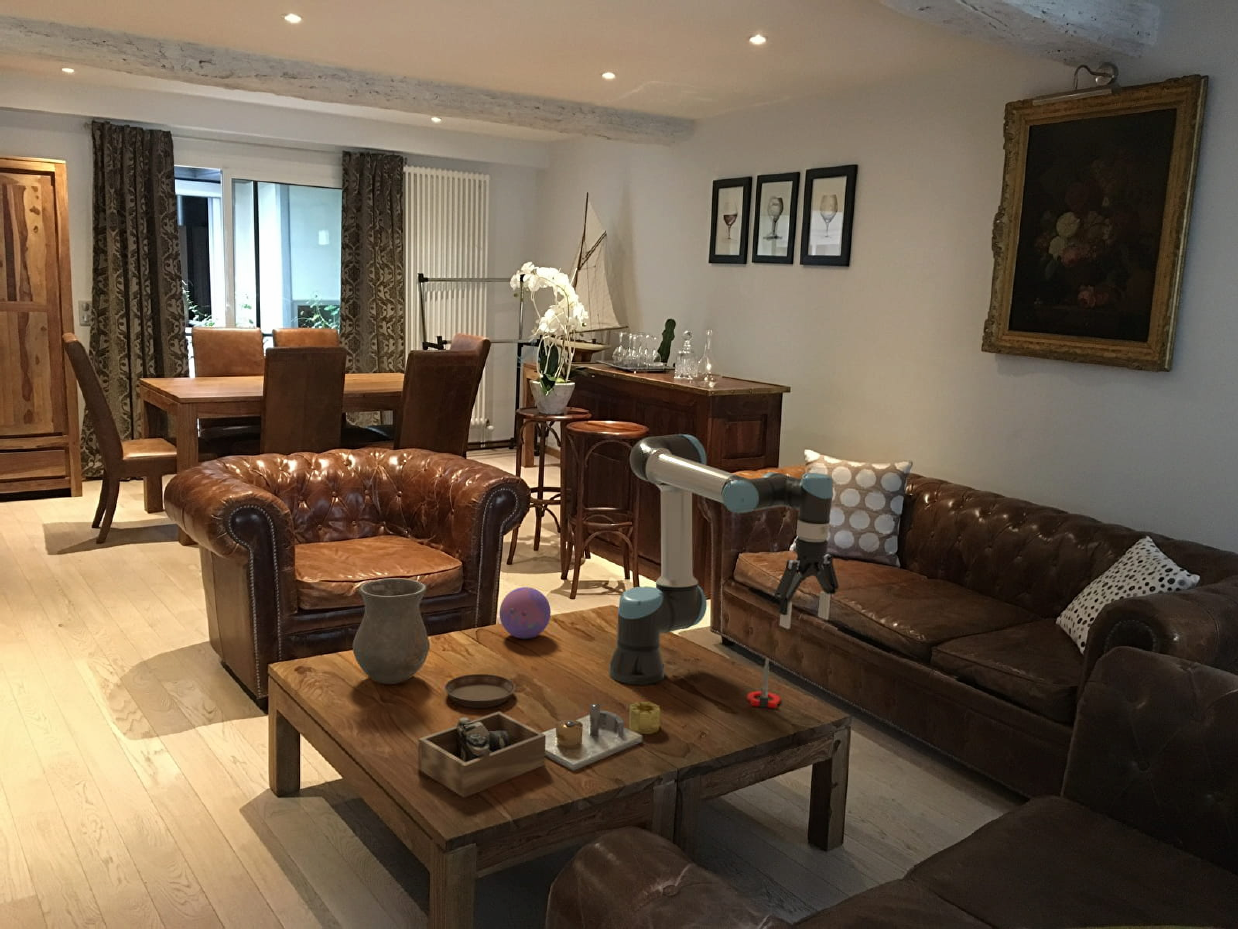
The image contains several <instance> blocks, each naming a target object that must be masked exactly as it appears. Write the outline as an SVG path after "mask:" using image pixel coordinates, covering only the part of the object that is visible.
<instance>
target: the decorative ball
mask: <svg viewBox="0 0 1238 929" xmlns="http://www.w3.org/2000/svg"><path fill="white" fill-rule="evenodd" d="M551 612H552V611H551V605H550V602H549V601H548V599H547V597H546V595H544V594H543V593H542V592H541V591H539V590H538V589H535V588H533V587H527V586H524V587H517V588H515V589H513V590H511V591H510V592H509V593H508V594H506V596H505V597H504V598H503V599H502V602H501V603H500V608H499V620H500V623H501V625H502V627H503V628H504V629H505V631H506V632H507V633H508V634H510V635H511V636H513V637H514V638H518V639H522V640H523V639H532V638H535V637H537V636H538V635H540V634H541V633H543V631H545V629H546V628H547V627H548V625H549V623H550V620H551V615H552V613H551Z"/></svg>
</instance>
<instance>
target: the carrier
mask: <svg viewBox="0 0 1238 929" xmlns="http://www.w3.org/2000/svg"><path fill="white" fill-rule="evenodd" d="M589 709H590V711H589V714H588V715H586V716H583V717H580V718H578V719H561V720H558V721H557V722H556V723H555V727H554V728H551V729H549V730H546V731H543V732H542V733H543V734H544V735H546V743H545V758H549V759H550V760H552V761H554V762H556V763H558V764H560V765H562V766H563V767H565V768H567V769H569V770H571V771H576V770H579V769H581V768H583V767H585V766H588V765H590V764H593V763H595V762H598V761H600V760H602V759H605V758H607V757H609V756H611V755H614V754H616V753H617V754H618V753H619V752H621V751H624V750H626V749H628V748H631V747H633V746H635V745H637V744H640V743H642V742H643V734H638V733H636V732H634V731H632V730H629V728H627V727H625V722H624V720H623V719H622V717H621V716H620V715H618V714H616V713H614V712H611V711H608V710H603V709H601V705H600V704H599V703H591V704H590V708H589Z"/></svg>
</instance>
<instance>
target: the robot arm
mask: <svg viewBox="0 0 1238 929" xmlns="http://www.w3.org/2000/svg"><path fill="white" fill-rule="evenodd" d="M702 444H703V443H701V442H700V441H699V439H697V437H695V436H693V435H690V434H681V433H679V434H667V435H661V436H659V435H658V436H649V437H644V438H642V439H641V440H639V441H638V442H637V443H636V444H635V445H634V446H633V447H632V448H631V451H630V455H629V464H630V468H631V470H632V472H633V473H634V474H635V476H636V477H638V478H639V479H641V480H643V481H646V482H649V483H651V484H654V485H655V487H658V489H659V491H660V535H661V536H660V547H661V548H660V549H661V550H660V552H661V554H660V558H661V559H660V560H661V561H660V564H661V565H660V566H661V568H660V570H661V571H660V572H661V575H660V576H659V577H658V578H657V580H655V587H654V586H653V587H652V586H647V585H646V586H643V587H642V586H637V587H632V588H629V589H627V590H625V591H623V593H621V595H620V597H619V604H618V608H617V614H618V616H617V633H616V634H617V636H616V638H617V639H616V647H615V649H614V652H613V655H612V658H611V660H610V662H609V666H608V674H609V676H610V678H612V679H613V680H615V681H617V682H620V683H623V684H629V685H636V686H638V685H640V686H641V685H642V686H643V685H652V684H657V683H659V682H661V681H662V680H664V678H665V671H666V670H665V668H666V667H665V664H664V663H663V658H662V653H661V650H660V649H661V648H660V643H661V635H662V634H667V633H670V632H671V633H672V632H675V631H679V630H685V629H689V628H692V627H693V626H696V625H698V624H699V623H700V622H701V621H702V620H703V619H704V617H705V615H706V612H707V606H708V605H707V597H706V594H704V591H703V590H704V589H702V588H701V586H699V585H698V584H699V581H698V580H697V578H695V576H694V575H693V494H694V495H698V496H701V497H704V498H707V499H710V500H712V501H716V502H719V503H722V504H723V505H724V506H725V508H726V509H727V510H728V511H730V512H732V513H733V514H734V513H735V514H736V513H737V514H739V513H741V514H743V513H744V514H745V513H749V512H753V511H761V510H766V509H772V508H773V509H774V508H778V507H779V508H780V507H785V508H789V509H794V510H797V511H798V515H797V525H796V533H795V534H796V538H795V549H794V552H795V553H796V554H797V556H796V560H793V559H787V560H786V564H785V569H784V572H783V574H782V576H781V579H780V581H779V584H778V586H777V588H776V590H775V592H774V595H773V598H774V599H776V600H778V601H780V602H779V615H780V618H779V624H778V625H779V627H783V628H785V629H787V630H789V629H791V621H792V620H791V619H792V608H793V601H791V600H792V598H793V597H794V595H795V593H796V592H797V590H798V588H799V587H800V585H801V584H802V582H803V581H804V580H806V579H807V578H810V577H815V578H816V579H817V582H818V584H819V585H820V587H821V588H822V589H821V590H823V591H820V592H819V602H818V610H817V611H818V613H817V617H818V618H821V619H823V620H826V621H828V620H829V615H830V605H831V603H832V594H833V595H835V594H836V592H837V590H839V588H840V586H839V582H838V578H837V575H836V570H835V568H834V563H833V562H834V559H833V558H834V556H833V555H831V554H828V543H829V541H828V540H827V539H828V538H829V531H830V521H831V520H830V519H831V518H830V517H831V508H832V504H833V496H834V480H833V478H832V476H830V475H828V474H825V473H818V472H805V473H804V474H803V475H802V476H801V478H798V477H795V476H791V475H787V474H783V473H782V472H781V473H780V472H772V471H771V472H766V473H764V475H763V476H761V477H757V478H747V477H744V476H740V475H737V474H735V473H731V472H728V471H726V470H722V469H720V468H715V467H712V466H708V465H707V454H706V451H705V448H704V446H703V445H702Z"/></svg>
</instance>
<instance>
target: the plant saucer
mask: <svg viewBox="0 0 1238 929" xmlns="http://www.w3.org/2000/svg"><path fill="white" fill-rule="evenodd" d="M444 691H445V692H446V695H447V696H448V697H449V699H451V700H452V701H453V702H455V703H456V704H458V705H460V706H463V707H468V708H475V709H477V708H478V709H482V708H483V709H484V708H492V707H496V706H500V705H502V704H503V703H505V702H506V701H508V700H509V698H511V696H512V695H513V693H514V692H515V691H516V685H515V683H514V682H513V681H512V680H510V679H508V678H506V677H503V676H500V675H497V674H496V675H495V674H488V673H487V674H486V673H477V674H476V673H475V674H474V673H473V674H466V675H461V676H457V677H454V678H452V679H450V680H449V681H446V683H445V685H444Z"/></svg>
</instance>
